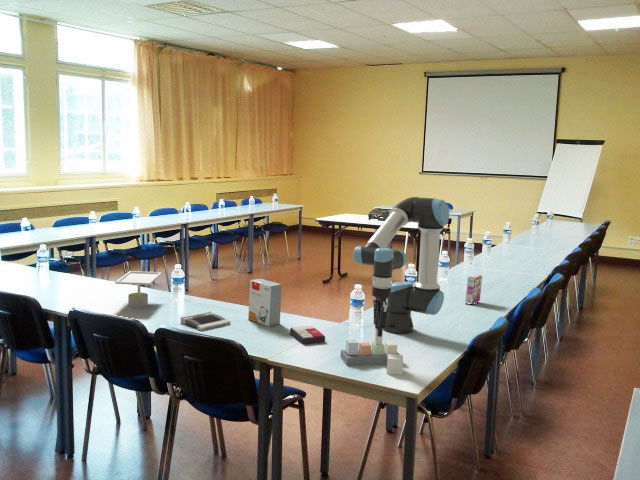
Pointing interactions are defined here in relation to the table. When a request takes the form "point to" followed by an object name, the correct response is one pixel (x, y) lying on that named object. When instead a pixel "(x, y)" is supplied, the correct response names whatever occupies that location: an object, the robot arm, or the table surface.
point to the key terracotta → (364, 349)
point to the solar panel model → (138, 279)
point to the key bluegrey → (351, 347)
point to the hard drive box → (264, 302)
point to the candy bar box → (473, 289)
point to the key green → (377, 349)
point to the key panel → (364, 359)
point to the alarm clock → (205, 321)
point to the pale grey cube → (394, 364)
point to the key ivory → (390, 348)
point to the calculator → (307, 335)
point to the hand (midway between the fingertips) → (378, 343)
